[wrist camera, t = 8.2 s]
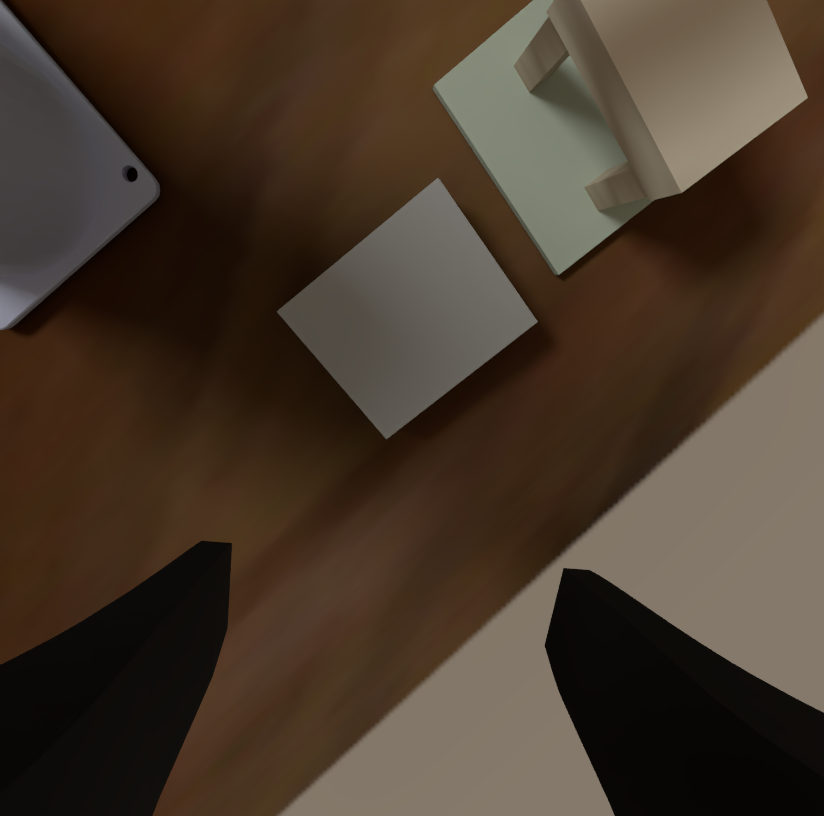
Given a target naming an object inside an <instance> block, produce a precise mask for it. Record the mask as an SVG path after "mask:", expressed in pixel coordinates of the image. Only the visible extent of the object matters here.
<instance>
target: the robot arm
mask: <svg viewBox="0 0 824 816" xmlns="http://www.w3.org/2000/svg"><path fill="white" fill-rule="evenodd" d="M130 168H136V170H137V172H138V178H137V179H136V181H134V182H130V181H129V180H128V178H127V172H128V170H129V169H130ZM159 195H160V186H159V183H158V181H157V180H156V178H155V177H154V176H153V175H152V174H151V173H150V171H149V170H148V169H147V168H146V167H145V166H144V164H143V163H142V162H141V161H140V160H139V159H138V157H137V156H136V155H135V154H134V153H133V152H132V150H131V149H130V148H129V147H128V146H127V145H126V144H125V142H124V141H123V140H122V139H121V138H120V137H119V135H118V134H117V133H116V132H115V131H114V130H113V128H112V127H111V126H110V125H109V124H108V123H107V121H106V120H105V119H104V118H103V117H102V116H101V115H100V113H99V112H98V111H97V110H96V109H95V108H94V106H93V105H92V104H91V103H90V102H89V101H88V99H87V98H86V97H85V96H84V95H83V94H82V93H81V91H80V90H79V89H78V88H77V87H76V86H75V84H74V83H73V82H72V81H71V80H70V79H69V77H68V76H67V75H66V74H65V73H64V72H63V70H62V69H61V68H60V67H59V66H58V65H57V64H56V62H55V61H54V60H53V59H52V58H51V57H50V55H49V54H48V53H47V52H46V51H45V50H44V48H43V47H42V46H41V45H40V44H39V43H38V41H37V40H36V39H35V38H34V37H33V36H32V35H31V33H30V32H29V31H28V30H27V29H26V28H25V26H24V25H23V24H22V23H21V22H20V21H19V19H18V18H17V17H16V16H15V15H14V14H13V12H12V11H11V10H10V9H9V8H8V7H7V6H6V4H5V3H4V2H3V1H2V0H0V330H4V329H10V328H11V327H13V326H15V325H16V324H17V323H18V322H19V321H20V320H21V319H23V318H24V317H25V316H26V315H27V314H28V313H29V312H31V311H32V310H33V309H34V308H35V307H36V306H37V305H38V304H40V303H41V302H42V301H43V300H44V299H45V298H46V297H47V296H49V295H50V294H51V293H52V292H53V291H54V290H55V289H57V288H58V287H59V286H60V285H61V284H62V283H63V282H64V281H66V280H67V279H68V278H69V277H70V276H71V275H72V274H73V273H75V272H76V271H77V270H78V269H79V268H80V267H81V266H83V265H84V264H85V263H86V262H87V261H88V260H89V259H90V258H92V257H93V256H94V255H95V254H96V253H97V252H98V251H99V250H101V249H102V248H103V247H104V246H105V245H106V244H107V243H109V242H110V241H111V240H112V239H113V238H114V237H115V236H116V235H118V234H119V233H120V232H121V231H122V230H123V229H124V228H126V227H127V226H128V225H129V224H130V223H131V222H132V221H133V220H135V219H136V218H137V217H138V216H139V215H140V214H141V213H142V212H144V211H145V210H146V209H147V208H148V207H149V206H150V205H152V204H153V203H154V202H155V201H156V200H157V198H158V197H159ZM231 551H232V543H222V542H209V541H201V542H199V543H198V544H196V545H195V546H193V547H192V548H190V549H189V550H187V551H186V552H185V553H183V554H182V555H181V556H179V557H178V558H176V559H175V560H174V561H172V562H171V563H169V564H168V565H167V566H165V567H164V568H162V569H161V570H160V571H158V572H157V573H155V574H154V575H152V576H151V577H150V578H148V579H147V580H145V581H144V582H142V583H141V584H139V585H138V586H137V587H135V588H134V589H132V590H131V591H129V592H128V593H126V594H125V595H123V596H121V597H120V598H118V599H117V600H115V601H113V602H112V603H110V604H109V605H107V606H105V607H104V608H102V609H101V610H99V611H97V612H96V613H94V614H93V615H91V616H89V617H88V618H86V619H85V620H83V621H81V622H80V623H78V624H76V625H75V626H73V627H71V628H69V629H68V630H66V631H64V632H62V633H61V634H59V635H57V636H55V637H53V638H52V639H50V640H48V641H46V642H44V643H42V644H40V645H38V646H36V647H35V648H33V649H31V650H29V651H27V652H25V653H23V654H21V655H19V656H17V657H15V658H13V659H11V660H9V661H7V662H5V663H3V664H1V665H0V816H152V815H153V812H154V810H155V807H156V805H157V802H158V800H159V797H160V795H161V793H162V790H163V788H164V786H165V784H166V781H167V779H168V777H169V775H170V772H171V770H172V768H173V765H174V763H175V761H176V759H177V756H178V754H179V752H180V750H181V747H182V745H183V743H184V740H185V738H186V736H187V734H188V731H189V729H190V727H191V725H192V722H193V720H194V718H195V716H196V713H197V711H198V709H199V706H200V704H201V702H202V699H203V697H204V695H205V693H206V690H207V688H208V686H209V683H210V681H211V679H212V676H213V673H214V670H215V667H216V664H217V661H218V657H219V654H220V651H221V648H222V644H223V641H224V638H225V634H226V631H227V625H228V607H229V588H230V570H231ZM545 648H546V651H547V655H548V658H549V662H550V665H551V669H552V672H553V675H554V678H555V681H556V684H557V687H558V690H559V693H560V695H561V697H562V700H563V702H564V704H565V706H566V709H567V711H568V713H569V715H570V718H571V720H572V722H573V724H574V726H575V729H576V731H577V733H578V735H579V737H580V739H581V742H582V744H583V746H584V748H585V751H586V753H587V755H588V757H589V759H590V761H591V764H592V766H593V768H594V770H595V772H596V774H597V777H598V779H599V781H600V783H601V785H602V788H603V790H604V792H605V794H606V796H607V798H608V801H609V803H610V805H611V808H612V810H613V813H614V815H615V816H824V713H823V712H821V711H819V710H817V709H815V708H813V707H811V706H809V705H807V704H805V703H803V702H801V701H799V700H798V699H795V698H794V697H792V696H790V695H788V694H786V693H785V692H783V691H781V690H779V689H777V688H775V687H774V686H771V685H770V684H768V683H766V682H765V681H763V680H761V679H759V678H757V677H755V676H754V675H752V674H750V673H748V672H747V671H745V670H743V669H742V668H740V667H738V666H736V665H735V664H733V663H731V662H730V661H728V660H727V659H725V658H723V657H722V656H720V655H718V654H717V653H715V652H713V651H712V650H711V649H709V648H707V647H706V646H704V645H702V644H701V643H699V642H698V641H696V640H695V639H693V638H692V637H690V636H689V635H687V634H685V633H684V632H683V631H681V630H680V629H678V628H677V627H675V626H674V625H672V624H671V623H669V622H667V621H666V620H665V619H663V618H662V617H660V616H659V615H657V614H656V613H654V612H653V611H652V610H650V609H648V608H647V607H646V606H644V605H643V604H641V603H640V602H638V601H637V600H636V599H634V598H633V597H631V596H630V595H628V594H627V593H625V592H624V591H622V590H620V589H619V588H618V587H616V586H615V585H613V584H612V583H610V582H609V581H607V580H606V579H604V578H602V577H601V576H599V575H597V574H596V573H594V572H592V571H590V570H580V569H567V568H564V569H563V573H562V577H561V582H560V585H559V589H558V593H557V597H556V601H555V606H554V610H553V614H552V618H551V622H550V626H549V630H548V634H547V638H546V642H545Z"/></svg>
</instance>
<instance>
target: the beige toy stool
mask: <svg viewBox="0 0 824 816" xmlns="http://www.w3.org/2000/svg"><path fill="white" fill-rule="evenodd" d="M546 12H547V14H548V18H547V19H546V21H545V22H544V24H543V25H542V26H541V28H540V29H539V31H538V32H537V33H536V35H535V36H534V38H533V39H532V40H531V42H530V43H529V45H528V46H527V47H526V49H525V50H524V52H523V53H522V55H521V56H520V57H519V59H518V60H517V62H516V63H515V64H514V67H515V69H516V71H517V73H518V74H519V76H520V78H521V79H522V81H523V83H524V85H525V86H526V88H527V90H528V92H530V91H532V90H533V89H534V88H535V87H537V86H538V85H539V84H540V83H542V82H543V81H544V80H545V79H547V78H548V77H549V76H550V75H552V74H553V73H554V72H555V71H556V69H557V68H558V67H559V66H560V65H561V64H562V63H563V62H564V61H565V60H566V59H567V58H568V57H569V56H571V58H572V60H573V62H574V64H575V65H576V67H577V69H578V71H579V73H580V75H581V76H582V78H583V80H584V82H585V84H586V86H587V87H588V89H589V91H590V93H591V95H592V97H593V98H594V100H595V102H596V104H597V106H598V107H599V109H600V111H601V113H602V115H603V117H604V118H605V120H606V122H607V124H608V126H609V128H610V129H611V131H612V133H613V135H614V137H615V139H616V140H617V142H618V144H619V146H620V148H621V150H622V151H623V153H624V155H625V157H626V159H627V161H626V162H624V163H622V164H620V165H617V166H615V167H613V168H610V169H608V170H606V171H605V172H603V173H602V174H601V175H600V176H598V177H597V178H596V179H594V180H593V181H592V182H591V183H589V184H588V185H587V186H585V187H584V188H585V190H586V191H587V193H588V195H589V196H590V198H591V200H592V202H593V203H594V205H595V207H596V208H597V210H602V209H606V208H609V207H613V206H617V205H620V204H624V203H628V202H631V201H635V200H639V199H642V198H646V197H648V199H649V201H652V200H656V199H660V198H664V197H668V196H672V195H676V194H680V193H682V192H684V191H685V190H686V189H688V188H689V187H690V186H692V185H693V184H694V183H696V182H697V181H698V180H700V179H701V178H702V177H704V176H705V175H706V174H707V173H709V172H710V171H711V170H713V169H714V168H715V167H717V166H718V165H719V164H721V163H722V162H723V161H725V160H726V159H727V158H729V157H730V156H731V155H733V154H734V153H735V152H737V151H738V150H739V149H741V148H742V147H743V146H745V145H746V144H747V143H749V142H750V141H751V140H752V139H754V138H755V137H756V136H758V135H759V134H760V133H762V132H763V131H764V130H766V129H767V128H768V127H770V126H771V125H772V124H774V123H775V122H776V121H778V120H779V119H780V118H782V117H783V116H784V115H786V114H787V113H788V112H790V111H791V110H792V109H793V108H795V107H796V106H797V105H799V104H800V103H801V102H803V101H804V100H805V99H807V98H808V97H807V94H806V92H805V90H804V87H803V85H802V83H801V80H800V78H799V76H798V73H797V71H796V68H795V66H794V64H793V61H792V59H791V57H790V54H789V52H788V50H787V47H786V45H785V42H784V40H783V38H782V35H781V33H780V31H779V28H778V26H777V24H776V21H775V19H774V17H773V14H772V12H771V9H770V7H769V5H768V2H767V0H554V1H553V3H552V4H551V5H550V7H549V8H548V10H547V11H546Z"/></svg>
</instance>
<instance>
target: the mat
mask: <svg viewBox="0 0 824 816" xmlns="http://www.w3.org/2000/svg"><path fill="white" fill-rule="evenodd" d="M553 1H554V0H533V1H532V2H531V3H530V4H528V5H527V6H526V7H525V8H524V9H522V10H521V11H520V12H519V13H518V14H517V15H515V16H514V17H513V18H512V19H511V20H510V21H508V22H507V23H506V24H505V25H504V26H503V27H501V28H500V29H499V30H498V31H497V32H496V33H494V34H493V35H492V36H491V37H490V38H488V39H487V40H486V41H485V42H484V43H483V44H481V45H480V46H479V47H478V48H477V49H476V50H474V51H473V52H472V53H471V54H470V55H469V56H467V57H466V58H465V59H464V60H463V61H462V62H460V63H459V64H458V65H457V66H456V67H454V68H453V69H452V70H451V71H450V72H449V73H447V74H446V75H445V76H444V77H443V78H442V79H440V80H439V81H438V82H437V83H436V84H435V85H434V86H433V91H434V92H435V94H436V95H437V97H438V98H439V100H440V101H441V103H442V104H443V106H444V107H445V109H446V110H447V112H448V113H449V115H450V116H451V118H452V119H453V121H454V123H455V124H456V126H457V127H458V129H459V130H460V132H461V133H462V135H463V136H464V138H465V139H466V141H467V142H468V144H469V145H470V147H471V148H472V150H473V151H474V153H475V154H476V156H477V157H478V159H479V160H480V162H481V163H482V165H483V167H484V168H485V170H486V171H487V173H488V174H489V176H490V177H491V179H492V180H493V182H494V183H495V185H496V186H497V188H498V189H499V191H500V192H501V194H502V195H503V197H504V198H505V200H506V201H507V203H508V204H509V206H510V208H511V209H512V211H513V212H514V214H515V215H516V217H517V218H518V220H519V221H520V223H521V224H522V226H523V227H524V229H525V230H526V232H527V233H528V235H529V236H530V238H531V239H532V241H533V242H534V244H535V245H536V247H537V249H538V250H539V252H540V253H541V255H542V256H543V258H544V259H545V261H546V262H547V264H548V265H549V267H550V268H551V270H552V271H553V273H554V274H555V275H560V274H561V273H562V272H563V271H565V270H566V269H567V268H568V267H570V266H571V265H572V264H574V263H575V262H576V261H577V260H579V259H580V258H581V257H582V256H584V255H585V254H586V253H588V252H589V251H590V250H591V249H593V248H594V247H595V246H596V245H598V244H599V243H600V242H602V241H603V240H604V239H605V238H607V237H608V236H609V235H611V234H612V233H613V232H614V231H616V230H617V229H618V228H619V227H621V226H622V225H623V224H625V223H626V222H627V221H628V220H630V219H631V218H632V217H633V216H635V215H636V214H637V213H639V212H640V211H641V210H642V209H644V208H645V207H646V206H648V205H649V204H650V203H651V202H653V201H654V200H652V201H649V199H648V197H646V198H642V199H639V200H635V201H631V202H628V203H624V204H620V205H617V206H613V207H609V208H606V209H602V210H597V208H596V207H595V205H594V203H593V202H592V200H591V198H590V196H589V195H588V193H587V191H586V190H585V188H584V187H585V186H587V185H588V184H589V183H591V182H592V181H593V180H594V179H596V178H597V177H598V176H600V175H601V174H602V173H603V172H605V171H606V170H608V169H610V168H613V167H615V166H617V165H620V164H622V163H624V162H626V161H627V159H626V157H625V155H624V153H623V151H622V150H621V148H620V146H619V144H618V142H617V140H616V139H615V137H614V135H613V133H612V131H611V129H610V128H609V126H608V124H607V122H606V120H605V118H604V117H603V115H602V113H601V111H600V109H599V107H598V106H597V104H596V102H595V100H594V98H593V97H592V95H591V93H590V91H589V89H588V87H587V86H586V84H585V82H584V80H583V78H582V76H581V75H580V73H579V71H578V69H577V67H576V65H575V64H574V62H573V60H572V58H571V56H569V57H568V58H567V59H566V60H565V61H564V62H563V63H562V64H561V65H560V66H559V67H558V68H557V69H556V71H555V72H554V73H553V74H552V75H550V76H549V77H548V78H547V79H545V80H544V81H543V82H542V83H540V84H539V85H538V86H537V87H535V88H534V89H533V90H532V91H530V92H528V90H527V88H526V86H525V85H524V83H523V81H522V79H521V78H520V76H519V74H518V73H517V71H516V69H515V67H514V64H515V63H516V62H517V60H518V59H519V57H520V56H521V55H522V53H523V52H524V50H525V49H526V47H527V46H528V45H529V43H530V42H531V40H532V39H533V38H534V36H535V35H536V33H537V32H538V31H539V29H540V28H541V26H542V25H543V24H544V22H545V21H546V19H547V18H548V14H547V12H546V11H547V10H548V8H549V7H550V5H551V4H552V3H553Z"/></svg>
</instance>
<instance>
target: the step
mask: <svg viewBox="0 0 824 816" xmlns="http://www.w3.org/2000/svg"><path fill="white" fill-rule="evenodd" d="M277 313H278V314H279V315H280V316H281V317H282V318H283V320H284V321H285V322H286V323H287V324H288V325H289V327H290V328H291V329H292V330H293V331H294V332H295V334H296V335H297V336H298V337H299V338H300V339H301V341H302V342H303V343H304V344H305V345H306V346H307V348H308V349H309V350H310V351H311V352H312V353H313V355H314V356H315V357H316V358H317V359H318V360H319V362H320V363H321V364H322V365H323V366H324V367H325V368H326V370H327V371H328V372H329V373H330V374H331V375H332V377H333V378H334V379H335V380H336V381H337V382H338V384H339V385H340V386H341V387H342V388H343V389H344V391H345V392H346V393H347V394H348V395H349V396H350V398H351V399H352V400H353V401H354V402H355V403H356V405H357V406H358V407H359V408H360V409H361V410H362V412H363V413H364V414H365V415H366V416H367V417H368V419H369V420H370V421H371V422H372V423H373V424H374V426H375V427H376V428H377V429H378V430H379V431H380V433H381V434H382V435H383V436H384V437H385V438H386V439H388V438H389V437H390V436H391V435H393V434H394V433H395V432H397V431H398V430H399V429H400V428H402V427H403V426H404V425H406V424H407V423H408V422H409V421H411V420H412V419H413V418H415V417H416V416H417V415H418V414H420V413H421V412H422V411H424V410H425V409H426V408H427V407H429V406H430V405H431V404H433V403H434V402H435V401H436V400H438V399H439V398H440V397H442V396H443V395H444V394H446V393H447V392H448V391H449V390H451V389H452V388H453V387H455V386H456V385H457V384H458V383H460V382H461V381H462V380H464V379H465V378H466V377H467V376H469V375H470V374H471V373H473V372H474V371H475V370H476V369H478V368H479V367H480V366H482V365H483V364H484V363H485V362H487V361H488V360H489V359H491V358H492V357H493V356H494V355H496V354H497V353H498V352H500V351H501V350H502V349H503V348H505V347H506V346H507V345H509V344H510V343H511V342H512V341H514V340H515V339H516V338H518V337H519V336H520V335H521V334H523V333H524V332H525V331H527V330H528V329H529V328H530V327H532V326H533V325H534V324H536V323H537V322H538V321H537V320H536V319H535V317H534V316H533V314H532V313H531V311H530V310H529V308H528V307H527V306H526V304H525V303H524V301H523V300H522V298H521V297H520V295H519V294H518V292H517V291H516V290H515V288H514V287H513V285H512V284H511V282H510V281H509V279H508V278H507V277H506V275H505V274H504V272H503V271H502V269H501V268H500V266H499V265H498V264H497V262H496V261H495V259H494V258H493V256H492V255H491V253H490V252H489V250H488V249H487V248H486V246H485V245H484V243H483V242H482V240H481V239H480V237H479V236H478V235H477V233H476V232H475V230H474V229H473V227H472V226H471V224H470V223H469V222H468V220H467V219H466V217H465V216H464V214H463V213H462V211H461V210H460V209H459V207H458V206H457V204H456V203H455V201H454V200H453V198H452V197H451V195H450V194H449V193H448V191H447V190H446V188H445V187H444V185H443V184H442V182H441V181H440V180H439V178H437V179H436V180H435V181H433V182H432V183H431V184H430V185H429V186H427V187H426V188H425V189H424V190H423V191H421V192H420V193H419V194H418V195H417V196H415V197H414V198H413V199H412V200H411V201H409V202H408V203H407V204H406V205H405V206H403V207H402V208H401V209H400V210H398V211H397V212H396V213H395V214H394V215H392V216H391V217H390V218H389V219H388V220H386V221H385V222H384V223H383V224H382V225H380V226H379V227H378V228H377V229H376V230H374V231H373V232H372V233H371V234H370V235H368V236H367V237H366V238H365V239H364V240H362V241H361V242H360V243H359V244H358V245H356V246H355V247H354V248H353V249H351V250H350V251H349V252H348V253H347V254H345V255H344V256H343V257H342V258H341V259H339V260H338V261H337V262H336V263H335V264H333V265H332V266H331V267H330V268H329V269H327V270H326V271H325V272H324V273H323V274H321V275H320V276H319V277H318V278H317V279H315V280H314V281H313V282H312V283H311V284H309V285H308V286H307V287H306V288H305V289H303V290H302V291H301V292H300V293H298V294H297V295H296V296H295V297H294V298H292V299H291V300H290V301H289V302H288V303H286V304H285V305H284V306H283V307H282V308H280V309H279V310H278V311H277Z"/></svg>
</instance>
